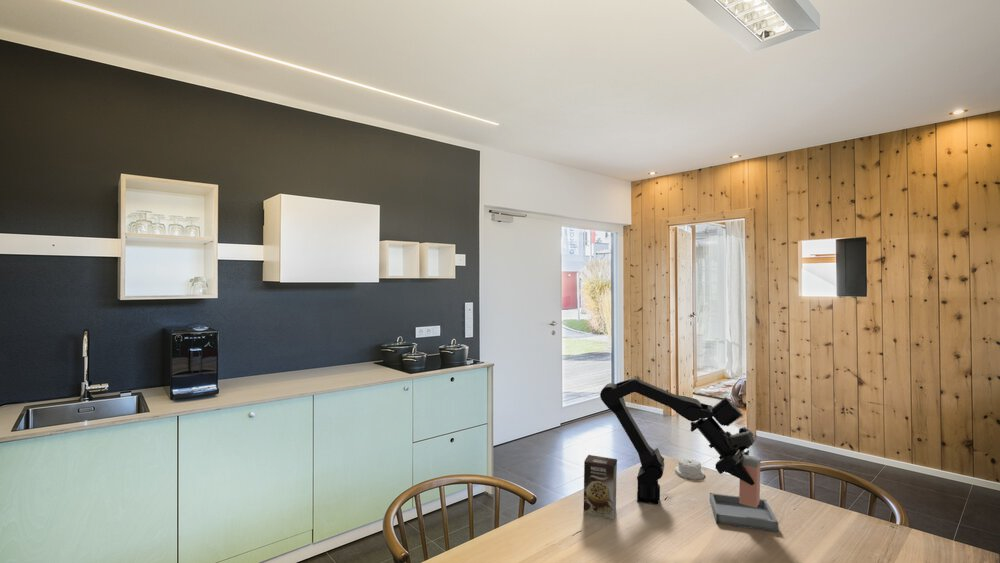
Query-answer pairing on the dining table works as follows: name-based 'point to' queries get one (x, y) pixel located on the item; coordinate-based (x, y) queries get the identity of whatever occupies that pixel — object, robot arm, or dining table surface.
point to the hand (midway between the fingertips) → (755, 481)
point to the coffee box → (600, 486)
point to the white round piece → (689, 469)
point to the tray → (742, 513)
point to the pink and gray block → (749, 492)
